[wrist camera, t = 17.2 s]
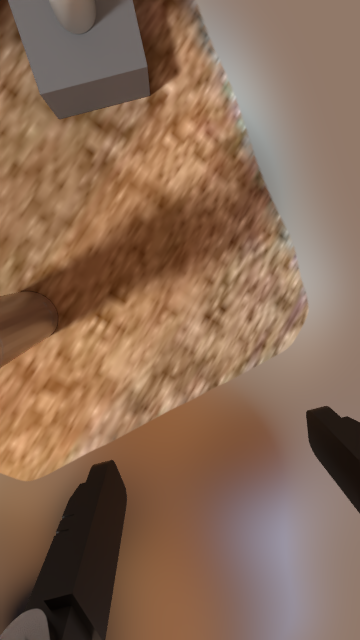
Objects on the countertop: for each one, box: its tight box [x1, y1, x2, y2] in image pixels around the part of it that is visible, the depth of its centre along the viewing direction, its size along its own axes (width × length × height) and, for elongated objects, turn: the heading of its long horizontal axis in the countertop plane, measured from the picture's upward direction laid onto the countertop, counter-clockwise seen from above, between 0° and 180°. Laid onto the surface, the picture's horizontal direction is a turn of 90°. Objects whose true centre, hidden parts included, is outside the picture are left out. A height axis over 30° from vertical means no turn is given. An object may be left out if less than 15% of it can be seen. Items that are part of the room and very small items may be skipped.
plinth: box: [8, 0, 150, 119], centre depth 28 cm, size 14×14×5 cm
